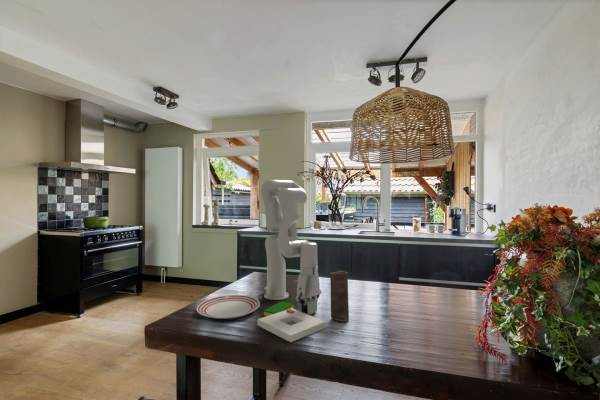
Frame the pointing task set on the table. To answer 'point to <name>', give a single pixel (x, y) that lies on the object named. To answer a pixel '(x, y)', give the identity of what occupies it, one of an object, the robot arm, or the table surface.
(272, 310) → the dish sponge
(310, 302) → the plug
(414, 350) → the table surface
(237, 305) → the dinner plate
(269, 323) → the socket
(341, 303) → the candle
